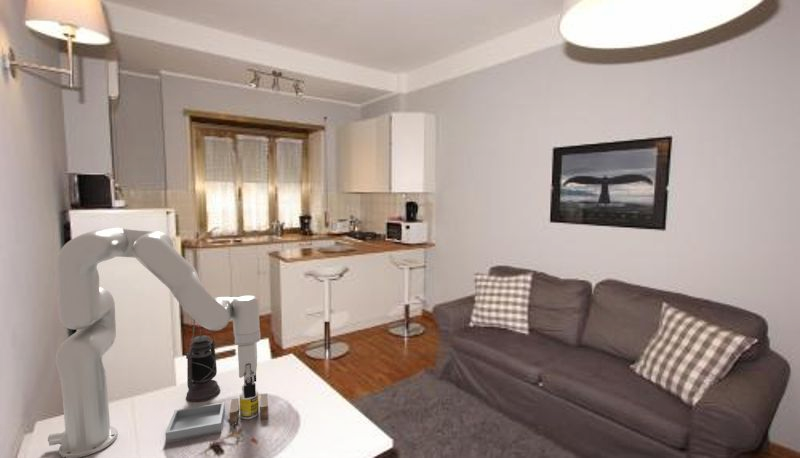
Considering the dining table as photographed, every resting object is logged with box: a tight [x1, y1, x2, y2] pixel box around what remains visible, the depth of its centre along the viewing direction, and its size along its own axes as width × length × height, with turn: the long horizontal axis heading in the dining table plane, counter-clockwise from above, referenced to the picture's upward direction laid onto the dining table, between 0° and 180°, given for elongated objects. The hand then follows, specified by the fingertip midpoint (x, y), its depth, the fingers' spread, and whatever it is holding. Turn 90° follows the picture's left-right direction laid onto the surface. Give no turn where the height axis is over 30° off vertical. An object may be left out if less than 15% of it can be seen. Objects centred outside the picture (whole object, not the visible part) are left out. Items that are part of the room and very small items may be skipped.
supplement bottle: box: [239, 383, 260, 420], centre depth 120 cm, size 5×5×10 cm
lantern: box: [185, 318, 221, 403], centre depth 131 cm, size 12×11×30 cm
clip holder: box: [228, 393, 269, 426], centre depth 120 cm, size 11×8×4 cm
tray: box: [164, 401, 226, 444], centre depth 114 cm, size 14×12×3 cm
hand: (250, 389), depth 120 cm, fingers open, 9 cm apart
